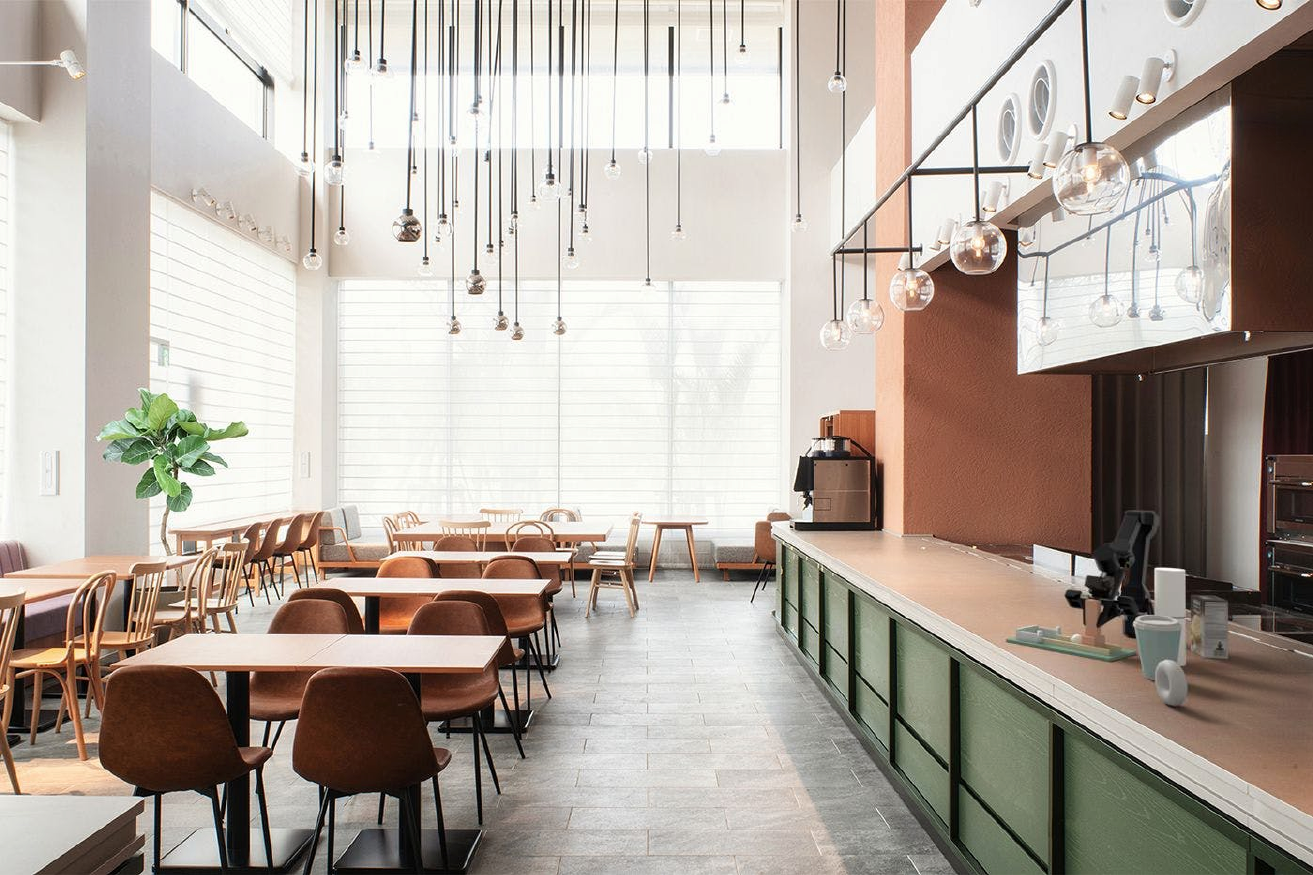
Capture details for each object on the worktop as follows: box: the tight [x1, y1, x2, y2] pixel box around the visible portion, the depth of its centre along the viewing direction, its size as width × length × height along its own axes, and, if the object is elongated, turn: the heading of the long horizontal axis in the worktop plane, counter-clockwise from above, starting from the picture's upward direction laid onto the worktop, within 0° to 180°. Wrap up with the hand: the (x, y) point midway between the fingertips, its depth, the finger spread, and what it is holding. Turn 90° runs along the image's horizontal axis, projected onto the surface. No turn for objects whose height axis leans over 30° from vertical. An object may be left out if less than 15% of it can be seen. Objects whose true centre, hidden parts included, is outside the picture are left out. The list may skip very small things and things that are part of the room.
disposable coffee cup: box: [1133, 615, 1182, 681], centre depth 212 cm, size 11×11×15 cm
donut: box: [1154, 660, 1188, 707], centre depth 189 cm, size 10×4×10 cm, turn 174°
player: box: [1082, 599, 1106, 648], centre depth 240 cm, size 6×4×14 cm, turn 127°
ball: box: [1071, 633, 1083, 644], centre depth 244 cm, size 4×4×4 cm
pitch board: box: [1005, 634, 1138, 663], centre depth 245 cm, size 16×30×2 cm, turn 37°
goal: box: [1015, 624, 1062, 644], centre depth 253 cm, size 12×8×4 cm
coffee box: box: [1190, 594, 1229, 660], centre depth 238 cm, size 9×6×16 cm
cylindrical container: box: [1154, 567, 1187, 667], centre depth 229 cm, size 7×7×25 cm
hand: (1090, 625), depth 239 cm, fingers closed on player, 3 cm apart
